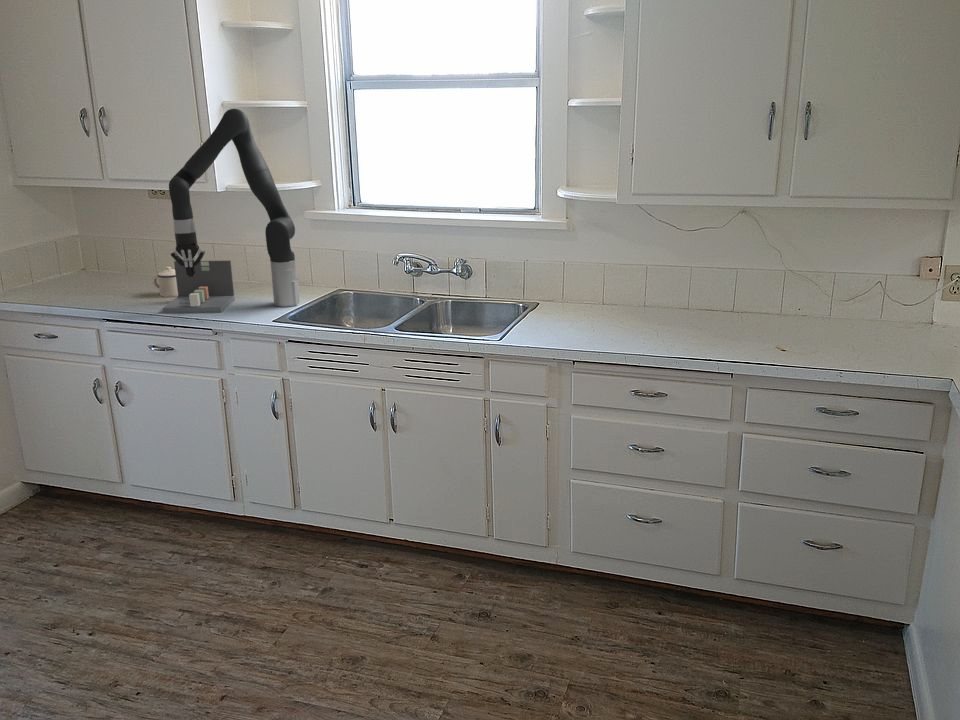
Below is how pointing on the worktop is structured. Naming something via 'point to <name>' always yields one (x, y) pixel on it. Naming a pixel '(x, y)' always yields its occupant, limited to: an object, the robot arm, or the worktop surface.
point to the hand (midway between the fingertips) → (191, 276)
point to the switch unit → (206, 274)
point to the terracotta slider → (205, 291)
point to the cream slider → (194, 299)
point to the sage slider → (200, 295)
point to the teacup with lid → (167, 282)
